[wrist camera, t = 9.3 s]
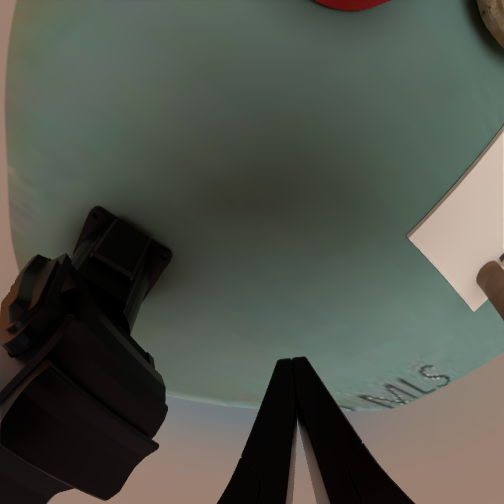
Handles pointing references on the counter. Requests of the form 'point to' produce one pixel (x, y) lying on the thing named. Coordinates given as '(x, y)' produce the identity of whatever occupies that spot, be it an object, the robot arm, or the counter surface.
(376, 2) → the beverage can
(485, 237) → the card
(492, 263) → the gatepost
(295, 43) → the counter surface
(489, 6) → the onion
